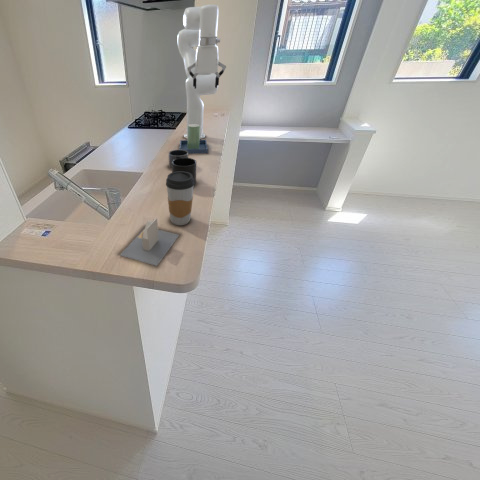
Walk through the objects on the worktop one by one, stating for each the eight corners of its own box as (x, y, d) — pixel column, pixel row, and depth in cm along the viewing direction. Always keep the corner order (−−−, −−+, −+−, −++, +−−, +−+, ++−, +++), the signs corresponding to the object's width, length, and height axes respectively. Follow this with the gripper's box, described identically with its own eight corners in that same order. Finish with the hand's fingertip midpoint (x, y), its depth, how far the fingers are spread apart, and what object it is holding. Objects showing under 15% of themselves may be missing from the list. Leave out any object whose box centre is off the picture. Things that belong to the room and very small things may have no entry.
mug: (198, 177, 112) (199, 156, 107) (193, 189, 103) (194, 167, 98) (176, 175, 114) (176, 154, 109) (169, 187, 105) (169, 165, 100)
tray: (180, 144, 149) (180, 140, 148) (205, 144, 148) (206, 139, 146) (179, 154, 136) (179, 149, 135) (207, 154, 135) (207, 149, 133)
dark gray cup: (169, 163, 126) (169, 149, 123) (188, 163, 126) (188, 149, 122) (168, 170, 119) (168, 156, 116) (188, 170, 119) (188, 156, 115)
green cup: (187, 146, 144) (187, 123, 137) (199, 146, 144) (200, 123, 137) (187, 150, 139) (187, 127, 132) (199, 150, 139) (200, 126, 132)
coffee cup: (193, 213, 88) (194, 170, 80) (193, 227, 82) (194, 182, 73) (168, 213, 89) (166, 170, 80) (166, 227, 83) (164, 182, 74)
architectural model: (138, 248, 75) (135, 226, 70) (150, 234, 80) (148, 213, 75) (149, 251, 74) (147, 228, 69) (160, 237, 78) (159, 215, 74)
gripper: (227, 41, 117) (223, 86, 128) (187, 43, 119) (187, 87, 129) (229, 41, 111) (225, 88, 122) (187, 43, 113) (187, 89, 123)
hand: (205, 87), depth 125 cm, fingers open, 9 cm apart
